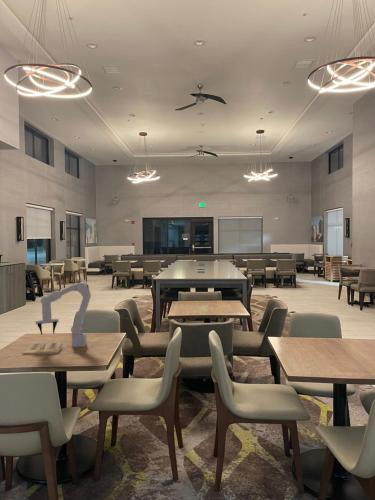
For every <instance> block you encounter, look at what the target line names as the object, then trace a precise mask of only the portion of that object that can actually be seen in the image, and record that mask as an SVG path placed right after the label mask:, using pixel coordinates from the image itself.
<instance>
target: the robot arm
mask: <svg viewBox="0 0 375 500" xmlns="http://www.w3.org/2000/svg"><path fill="white" fill-rule="evenodd" d="M70 292H78V293H79V294H80V295H81V296H82V300H81V302H80V306H79V309H78V312H77V316H76V318H75V321H74V323H73V325H72V326H71V328H70V330H71V347H72V348H83V347H84V348H85V347H86V346H87V334H86V333H84V332H83V327H84V326H83V324H84V318H85V315H86V313H87V310H88V306H89V303H90V299H91V297H92V294H91V291H90V286H89V284H88V283H87V282H86V281H83V280H82V281H80V282H77V283H74V284H71V285H69V286H68V287H66V288H64V289H62V290H53V292H51V293H48V294H46V295H45V296H43V297H42V298H41V299H40V303H41V312H42V313H41V314H42V319H41V320H36V321H35V325H37V328H38V330H39V331H40V335H43V330H42V329H43V327H42V325H43V324H52V333H53V334H55V330H56V327H57V324H58V323H59V321H60V320H59V318H53V319H52V305H51V303H53V302H56V301H59V300H60V299H61V298H62V296H64V295H65V294H68V293H70Z"/></svg>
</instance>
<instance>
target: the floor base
mask: <svg viewBox="0 0 375 500" xmlns="http://www.w3.org/2000/svg"><path fill="white" fill-rule="evenodd" d="M44 349H45V347H44ZM63 349H64V347H61V349H54V350H27V349H26V350H25V351H23V352H22V356H25V355H26V356H27V355H28V356H30V355H32V356H33V355H58V354H60V352H61V350H63Z"/></svg>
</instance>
